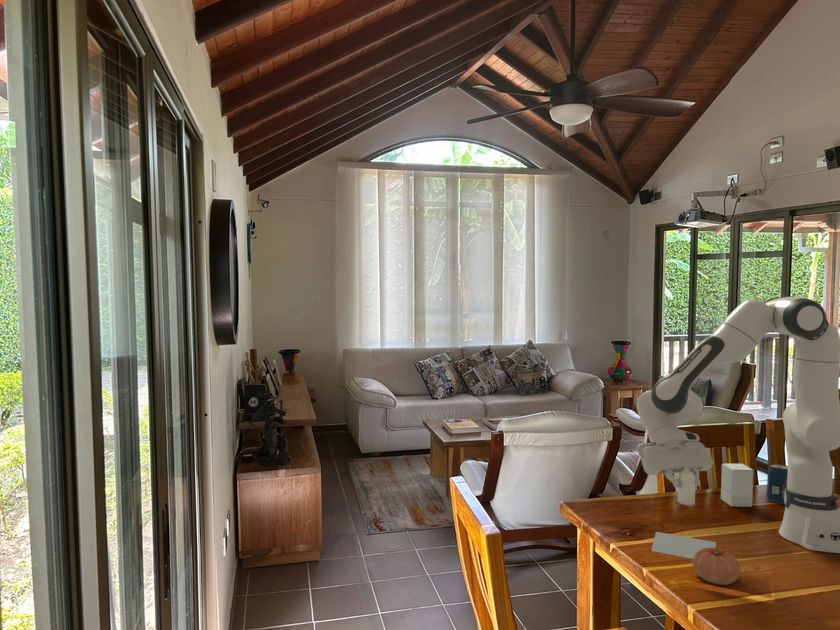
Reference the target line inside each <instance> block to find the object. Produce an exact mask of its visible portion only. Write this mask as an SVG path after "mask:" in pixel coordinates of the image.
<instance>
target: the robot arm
mask: <svg viewBox="0 0 840 630" xmlns="http://www.w3.org/2000/svg"><path fill="white" fill-rule="evenodd" d="M826 313H827V312H826V311H825V309H824V308H823V306H822V305H821V304H820V303H818V302H817V301H815V300H813V299H811V298H807V297H806V298H805V297H797V296H785V297H781V296H780V297H779V296H777V297H772V298H769V299H767V300H764V301H761V300H758V299H756V298H755V299H754V298H749V299H746V300H744V301H742V302H741V303H739V304H738V306H736V308H734V309H733V311H731V312H730V313H729V314H728V315H727V317H725V319H724V320H723V321H722V323H720V325H719V326H718V327H717V328H716V329H715V330H714V331H713V333H711V335H709V336H708V337H706V338H704V339H703V340H701V342H700V343H698V344H697V345H696V346H695V347H694V348H693V349H692V351H690V353H689V354H687V356H686V357H685V358H683V360H682V361H681V362H679V364H678V365H677V366H676V367H675V368H674V369H672V371H670V372H669V373H668V374H666V375H665V376H662V378H660V379H659V380H657V381H656V382H655V383H654V384H653V387H652V388H651V389H650V390H649V389H648V390H647V391H645V392H643V393H641V395H639V397H638V398H637V399H636V409H637V410H636V411H637V413H638V416H639V417H638V418H639V420H640V422H641V424H642V426H643V427H644V429H646V432H647V437H648V439H649V442H646V443H644V442H643V443H639V444H638V446H637V449H636V450H637V452H638V455H639V457H640V459H641V460H640V461H641V465H642V467H643V471H644V472H645V473H646V474H647V475H648V476H654V475H664V476H665V478H666V479H667V480H669V482H671V483H672V485H673V487H674V488H678V487H680V486H682V483H681V482H680V479H678V477H676V476H675V475H674V474H679V473H680V472H681V471H683V470H684V467H685V466H687V467H689V471H691V472H692V473H693V474H694V476H695V487H697V486H700V485H701V480H700V479H699V477H700V472H704V471H705V472H706V471H709V469H711V467H713V464H714V460H713V458H712V456H711V454H710V453H709V451H708V449H707V447H706V446H705V445H704V444H703V443H702V442H700V439H701V438H700V435H698V434H697V433H695V432H694V433H693V432H690V431H686V430H682V429H679V427H680V426H684V425H687V424H690V423H693V422H696V421H697V420H698V419H700V417H701V416H702V415H703V413H704V402H703V401H704V400H702V398H701V397H700V396H699V395H698V394H697V393H695V391H693V390H692V387H693V385H694V384H695V382H697V380H698V379H699V378H700V377H701V376H702V375H703V374H704V373H705V372H706V371H707V370H708V368H710V367H711V366H713V365H714V364H718V363H738V362H742V361H743V360H745V359H746V358H747V357H748V356H749V355H751V353H752V352H753V351H754V350H755V349H756V347H757V346H758V345H759V343H760V342H761V341H762V340H763V338H764V337H765V336H766V335H767V334H770V332H771V333H777V334H781V335H783V336H791V337H792V338H793V340H794V344H795V350H794V351H795V352H794V360H793V371H792V373H793V375H792V388H793V391H794V398H795V402H794V403H791V404H789V405H788V406H787V407H786V408H785V409H784V411H783V413H782V421H783V422H782V423H783V426H784V428H783V429H784V437H785V447H786V453H787V466H788V477H787V486H786V487H785V495H784V503H783V504H784V506H785V507H784V508H785V509H784V512H783V518H782V522H781V525H780V528H779V530H778V533H779V535H780V536H781V537H782V538H784V540H788V541H789V542H792V543H794V544H797V545H799V546H801V547H803V548H804V549H806V550H810V551H816V552H822V553H823V552H824V553H835V554H840V497H839V496H838V495H837V494H836V493H833V477H834V467H833V464H832V460H831V457H830V452H831V451H835V450H837V449H839V448H840V397H839V396H840V394H839V393H840V392H839V381H840V380H839V379H840V333H839V330H838V328H837V327H836V326H835V325H834V324H831V322H830V323H829V321H828V317H827V314H826Z"/></svg>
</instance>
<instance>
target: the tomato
mask: <svg viewBox="0 0 840 630" xmlns="http://www.w3.org/2000/svg"><path fill="white" fill-rule="evenodd" d="M692 566H693V568H694V571H695V573H696V574H697V575H698V577H700V578H701V579H702V580H704V581H706V582H708V583H710V584H714V585H719V586H720V585H722V586H726V585H731V584H733V583H735V582H736V581H737V580H738V579H739V577H740V575H741V565H740V562H739V561H738V560H737V558H736V557H735V556H734V555H733V554H732V553H730V552H729V551H726V550H723V549H721V548H717V547H716V548H703V549H701V550H700V551H698V552H697V553H696V554H695V556H694V558H693V559H692Z"/></svg>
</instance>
